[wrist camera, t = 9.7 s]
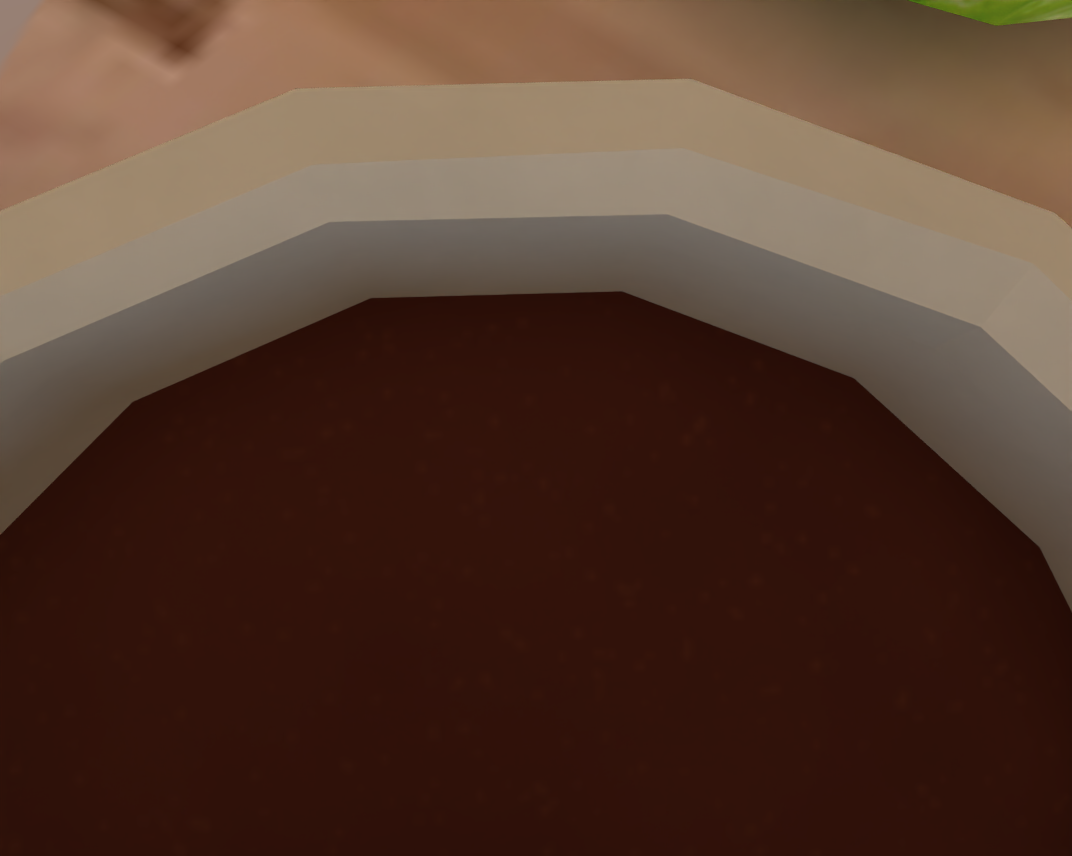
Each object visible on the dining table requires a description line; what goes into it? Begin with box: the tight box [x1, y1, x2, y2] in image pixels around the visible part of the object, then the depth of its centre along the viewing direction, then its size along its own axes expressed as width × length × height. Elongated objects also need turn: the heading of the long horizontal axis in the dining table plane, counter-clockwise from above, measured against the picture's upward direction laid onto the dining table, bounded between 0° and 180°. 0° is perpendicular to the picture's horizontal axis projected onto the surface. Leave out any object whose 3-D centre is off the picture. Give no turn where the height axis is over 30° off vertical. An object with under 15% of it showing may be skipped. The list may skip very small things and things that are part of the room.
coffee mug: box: [0, 79, 1072, 856], centre depth 9 cm, size 11×7×13 cm, turn 58°
